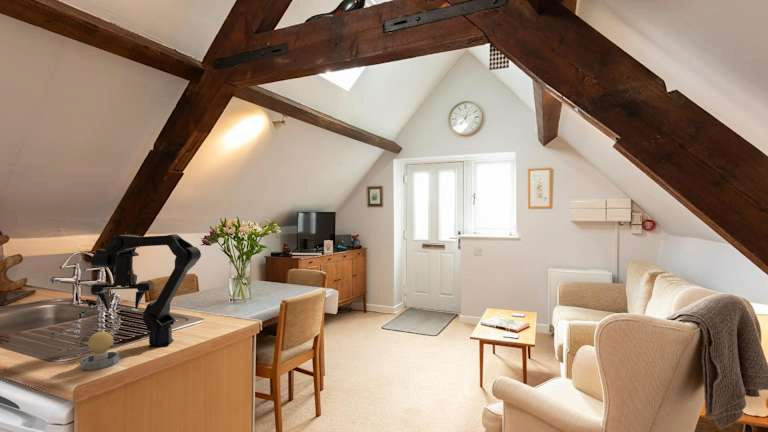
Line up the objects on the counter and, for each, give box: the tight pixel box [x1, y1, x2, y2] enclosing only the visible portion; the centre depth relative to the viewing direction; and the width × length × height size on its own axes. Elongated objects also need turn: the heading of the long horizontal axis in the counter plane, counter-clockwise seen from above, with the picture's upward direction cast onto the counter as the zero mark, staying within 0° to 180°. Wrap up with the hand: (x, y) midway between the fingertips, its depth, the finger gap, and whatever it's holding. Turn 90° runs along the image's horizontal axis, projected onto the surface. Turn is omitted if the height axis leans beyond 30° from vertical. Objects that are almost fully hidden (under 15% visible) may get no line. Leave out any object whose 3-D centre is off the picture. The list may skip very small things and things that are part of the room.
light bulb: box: [87, 331, 114, 362], centre depth 124 cm, size 6×6×10 cm
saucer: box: [79, 351, 120, 371], centre depth 124 cm, size 10×10×2 cm
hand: (122, 309), depth 142 cm, fingers open, 9 cm apart
